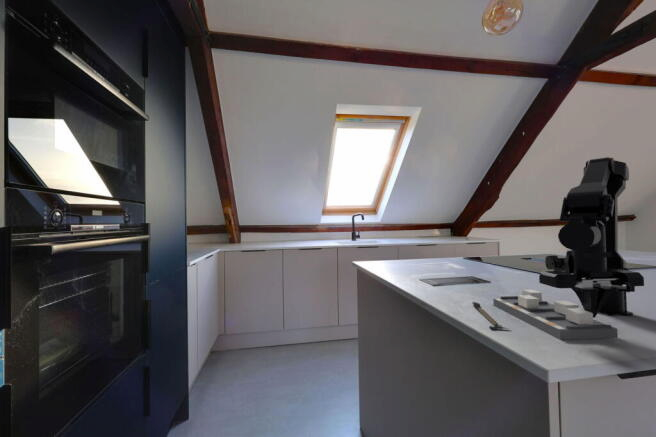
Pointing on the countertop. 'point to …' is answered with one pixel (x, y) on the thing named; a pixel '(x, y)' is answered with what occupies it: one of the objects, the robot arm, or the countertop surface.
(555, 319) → the switch bank
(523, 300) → the tab
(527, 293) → the white rectangular block
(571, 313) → the off-white short block
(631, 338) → the countertop surface
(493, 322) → the claw hammer
